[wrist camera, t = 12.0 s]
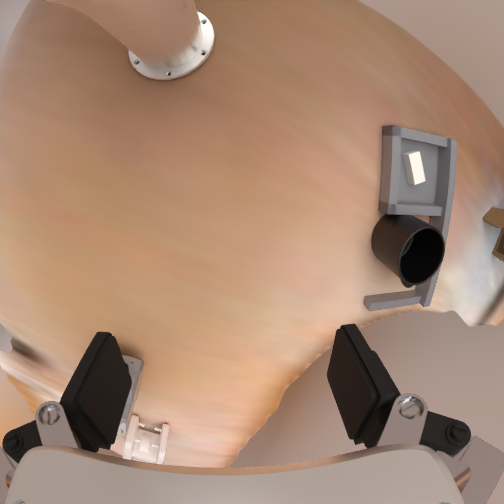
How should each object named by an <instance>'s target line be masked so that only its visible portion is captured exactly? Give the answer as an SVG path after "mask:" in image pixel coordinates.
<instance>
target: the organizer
mask: <svg viewBox="0 0 504 504" xmlns="http://www.w3.org/2000/svg"><path fill="white" fill-rule="evenodd" d="M412 150H413V151H420V155H421V160H422V165H423V170H424V176H425V181H424V182H422V183H419V184H416V185H414V184H410V183H408V179H407V174H406V170H405V165H404V161H403V156H402V153H406V152H409V151H412ZM456 158H457V140H454V139H449V138H444V137H441V136H437V135H433V134H429V133H425V132H421V131H417V130H413V129H408V128H403V127H398V126H393V125H389V126H383V138H382V169H381V186H380V198H379V209H378V210H380V211H382V212H384V213H386V214H396V215H427V216H430V223H429V224H430V225H432V226H434V227H435V228H437V229H438V230H439V231H440V232H441V234H442V235H443V238H444V242H445V245H446V240H447V235H448V229H449V223H450V217H451V211H452V203H453V195H454V186H455V174H456ZM440 267H441V265H440ZM440 267H439V269H438V270H437V272H436V273H435V274H434V276H432V277H431V278H430V279H429V280H428V281H426V282H425V283H423V284H420V285H416V289H415V290H412V291H404V292H397V293H389V294H381V295H372V296H365V300H364V305H365V306H366V307H367V309H368V310H369V311H373V310H380V309H387V308H393V307H400V306H406V305H412V304H418V303H420V304H421V305H422V306H423V307H427V306H430V302H431V299H432V296H433V293H434V289H435V286H436V282H437V278H438V275H439V271H440Z"/></svg>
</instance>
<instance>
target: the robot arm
mask: <svg viewBox="0 0 504 504" xmlns="http://www.w3.org/2000/svg"><path fill="white" fill-rule="evenodd" d="M45 1H48V2H52V3H56V4H60V5H64V6H68V7H70V8H73V9H75V10H78V11H79V12H81V13H83V14H85V15H86V16H88V17H89V18H91V19H92V20H93V21H95V22H96V23H97V24H99V25H100V26H101V27H102V28H104V29H105V30H106V31H107V32H109V33H110V34H111V35H112V36H113V37H115V38H116V39H117V40H118V41H120V42H121V43H122V44H123V45H124V46H125V47H127V48H128V55H129V59H130V62H131V64H132V66H133V67H134V68H135V69H136V70H137V71H138V72H139V73H140V74H142V75H143V76H146V77H148V78H150V79H154V80H172V79H176V78H180V77H183V76H185V75H188V74H189V73H191V72H193V71H194V70H196V69H197V68H198V67H200V66H201V65H202V64H203V63H204V62H205V61H206V59H207V58H208V57H209V55H210V53H211V52H212V49H213V46H214V41H215V34H214V29H213V26H212V24H211V22H210V20H209V19H208V18H207V17H206V16H205V15H203V14H202V13H200V12H198V11H197V8H196V4H195V1H194V0H45ZM203 23H206V24H203ZM203 53H205V55H202V54H203ZM137 63H139V64H137ZM168 74H171V75H170V76H168ZM327 378H328V381H329V384H330V387H331V390H332V392H333V395H334V398H335V400H336V403H337V406H338V409H339V412H340V414H341V417H342V420H343V423H344V425H345V428H346V431H347V434H348V437H349V438H350V439H353V440H354V443H355V445H357V444H360V443H364V444H365V446H366V447H367V449H364V450H360V451H355V452H351V453H347V454H342V455H338V456H333V457H328V458H323V459H317V460H311V461H305V462H298V463H291V464H283V465H273V466H261V467H244V468H201V467H183V466H171V465H162V464H154V463H146V462H140V461H134V460H128V459H123V458H118V457H113V456H108V455H103V454H99V453H98V449H99V448H103V449H108V450H110V447H111V444H114V443H115V439H116V436H117V432H118V429H119V425H120V422H121V418H122V415H123V412H124V408H125V405H126V402H127V399H128V395H129V392H130V389H131V386H132V379H131V376H130V374H129V371H128V369H127V367H126V364H125V362H124V359H123V357H122V354H121V351H120V349H119V346H118V343H117V341H116V338H115V337H114V336H112V334H111V333H109V332H97V333H96V335H95V337H94V338H93V340H92V342H91V343H90V345H89V347H88V349H87V350H86V352H85V354H84V356H83V357H82V359H81V361H80V363H79V365H78V367H77V368H76V370H75V372H74V374H73V376H72V378H71V380H70V382H69V384H68V386H67V388H66V389H65V391H64V393H63V395H62V398H61V401H60V403H58V402H55V401H48V402H45V403H43V404H42V405H40V406H39V407H38V409H37V411H36V414H35V417H36V420H34V421H32V422H30V423H28V424H25V425H23V426H21V427H18V428H16V429H13V430H11V431H9V432H8V433H7V434H6V435H5V437H4V439H3V447H2V448H1V447H0V504H486V503H487V501H488V499H489V497H490V496H491V494H492V492H493V490H494V488H495V486H496V485H497V482H498V481H499V479H500V476H501V475H502V473H503V470H504V453H503V452H502V451H500V450H498V449H497V448H495V447H493V446H492V445H490V444H488V443H487V442H485V441H484V440H482V439H481V438H479V437H477V436H476V435H475V436H474V437H472V436H471V432H470V429H469V427H468V426H467V425H466V424H465V423H464V422H461V421H459V420H455V419H452V418H448V417H446V416H442V415H439V414H436V413H433V412H430V411H427V410H428V407H427V404H426V402H425V401H424V399H423V398H421V397H420V396H418V395H416V394H411V393H407V394H403V395H401V394H400V392H399V391H398V389H397V387H396V386H395V384H394V382H393V380H392V379H391V377H390V375H389V373H388V372H387V370H386V368H385V367H384V365H383V363H382V362H381V360H380V358H379V357H378V355H377V354H376V352H375V351H371V349H370V347H369V346H368V344H367V342H366V341H365V339H364V337H363V336H362V334H361V332H360V331H359V329H358V328H357V326H356V325H355V324H348V325H342V326H341V327H340V329H337V331H336V335H335V340H334V345H333V350H332V354H331V359H330V364H329V367H328V371H327Z"/></svg>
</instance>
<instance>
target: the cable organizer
mask: <svg viewBox="0 0 504 504" xmlns="http://www.w3.org/2000/svg"><path fill="white" fill-rule="evenodd" d="M138 425H139V426H142V427H144V426H145V424H142V423H139V417H138V416H135V415H132V417H131V420H130V423H129V427H128V431H127V435H126V439H125V441H124V442H123V446H122V447H123V459H128V460H132V459H133V457H135V458H138V459H142V460H145V461H149V462H153V463H155V464H163V461H164V458H165V454H166V447H167V440H168V433H169V425H167V424H163V426H162V429H159V428H156V427H155V428H154V431H155V430H156V431H160V432H161V433H160V435H159V434H156V433H152V432H148V431H145V430H142V429H138ZM155 426H156V425H155Z"/></svg>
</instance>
